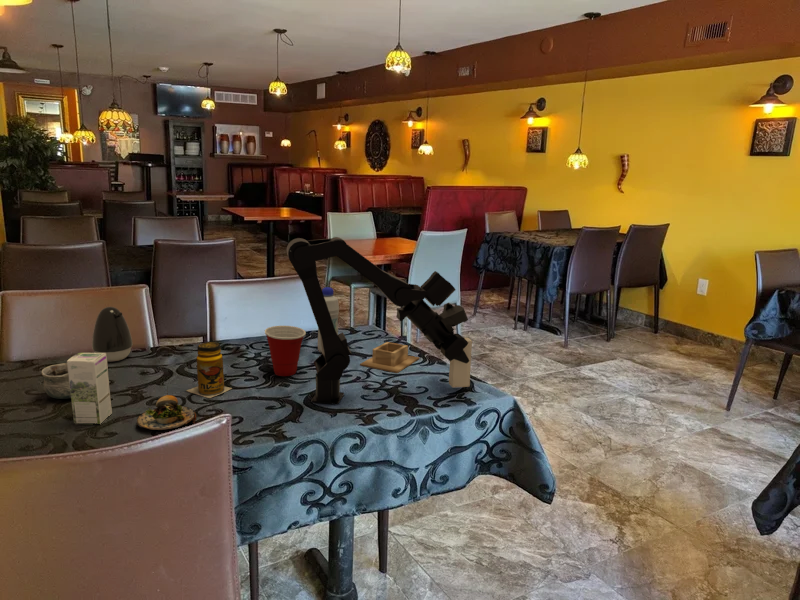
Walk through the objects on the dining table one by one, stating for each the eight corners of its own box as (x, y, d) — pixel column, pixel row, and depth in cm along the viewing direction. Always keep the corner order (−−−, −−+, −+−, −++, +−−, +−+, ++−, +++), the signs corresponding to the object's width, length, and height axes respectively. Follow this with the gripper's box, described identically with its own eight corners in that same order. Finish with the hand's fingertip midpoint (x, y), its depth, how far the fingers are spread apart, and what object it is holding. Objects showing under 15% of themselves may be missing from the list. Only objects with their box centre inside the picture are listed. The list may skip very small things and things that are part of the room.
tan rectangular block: (452, 387, 144) (454, 341, 141) (448, 383, 147) (450, 338, 144) (469, 386, 145) (472, 341, 142) (465, 382, 148) (467, 337, 145)
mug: (53, 389, 139) (48, 350, 137) (109, 386, 142) (105, 348, 140) (37, 405, 130) (32, 363, 128) (97, 402, 133) (93, 361, 131)
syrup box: (113, 414, 126) (107, 351, 123) (100, 425, 121) (93, 360, 118) (86, 413, 126) (80, 351, 123) (72, 425, 121) (65, 360, 117)
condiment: (210, 398, 136) (207, 350, 134) (185, 391, 140) (182, 344, 138) (232, 389, 142) (230, 343, 140) (208, 382, 147) (206, 337, 144)
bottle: (312, 353, 172) (311, 288, 167) (325, 347, 178) (325, 284, 173) (331, 356, 169) (330, 290, 164) (343, 351, 175) (343, 286, 170)
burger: (124, 433, 118) (121, 399, 117) (157, 410, 130) (154, 379, 128) (178, 438, 117) (176, 404, 115) (206, 415, 128) (204, 383, 126)
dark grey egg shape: (107, 367, 155) (102, 313, 152) (85, 360, 161) (80, 307, 157) (141, 357, 164) (137, 306, 161) (119, 351, 169) (115, 301, 166)
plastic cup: (293, 382, 148) (293, 337, 145) (257, 376, 151) (256, 333, 149) (313, 369, 158) (313, 327, 155) (278, 364, 161) (278, 323, 159)
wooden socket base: (397, 373, 157) (397, 357, 156) (359, 365, 162) (360, 350, 161) (419, 359, 169) (419, 344, 168) (383, 352, 174) (384, 338, 173)
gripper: (461, 304, 131) (503, 348, 136) (437, 288, 148) (474, 327, 154) (427, 339, 131) (470, 381, 136) (406, 318, 148) (445, 357, 153)
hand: (465, 359), depth 145 cm, fingers closed on tan rectangular block, 3 cm apart
